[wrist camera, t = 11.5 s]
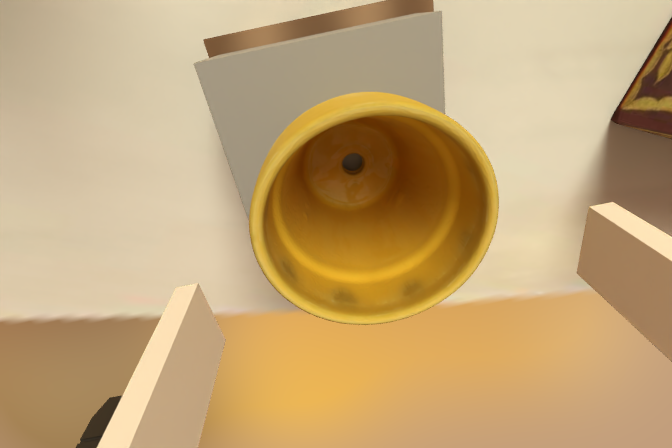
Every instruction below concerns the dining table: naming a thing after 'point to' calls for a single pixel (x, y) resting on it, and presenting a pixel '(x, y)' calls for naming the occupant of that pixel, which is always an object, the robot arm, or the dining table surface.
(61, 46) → the dining table surface
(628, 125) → the decorative box
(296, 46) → the grey top block
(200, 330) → the robot arm
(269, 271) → the plant pot
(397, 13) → the walnut base block
